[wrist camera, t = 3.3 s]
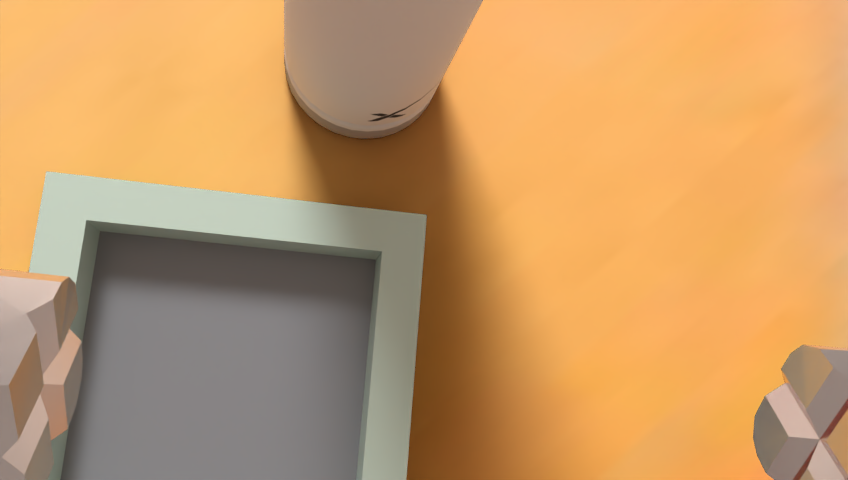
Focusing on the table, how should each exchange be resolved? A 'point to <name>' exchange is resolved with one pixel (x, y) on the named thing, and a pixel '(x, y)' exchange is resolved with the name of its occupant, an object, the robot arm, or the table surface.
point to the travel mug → (370, 59)
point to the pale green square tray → (233, 332)
